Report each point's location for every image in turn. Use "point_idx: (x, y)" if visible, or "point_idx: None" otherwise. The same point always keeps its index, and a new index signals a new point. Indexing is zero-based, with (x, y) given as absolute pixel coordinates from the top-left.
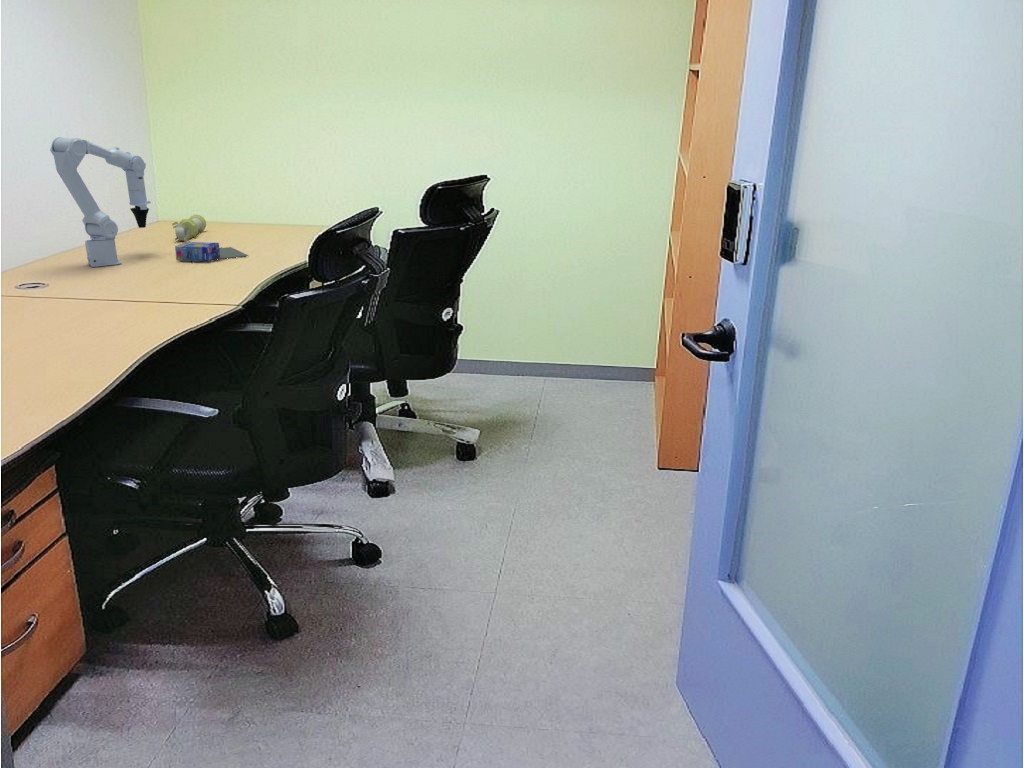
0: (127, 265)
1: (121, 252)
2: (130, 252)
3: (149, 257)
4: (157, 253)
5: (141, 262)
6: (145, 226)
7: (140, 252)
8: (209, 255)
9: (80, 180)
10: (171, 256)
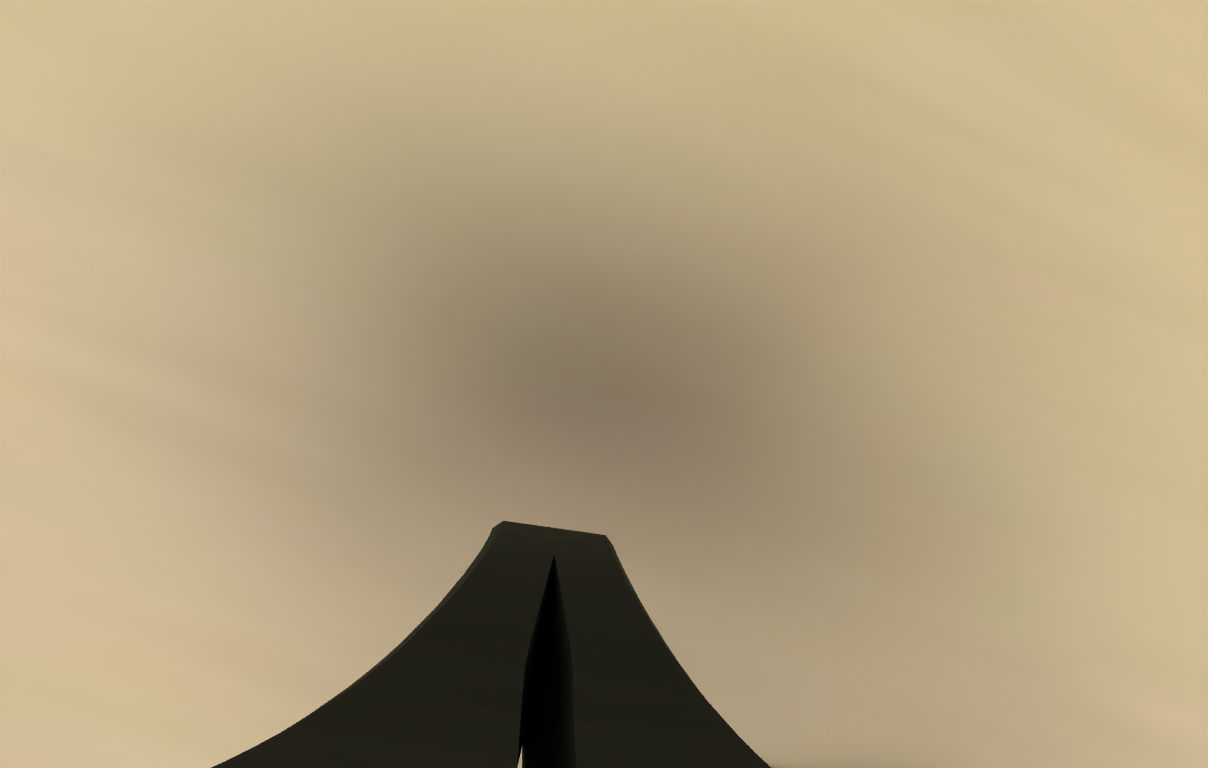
0: (1080, 764)
1: (14, 497)
2: (96, 396)
3: (758, 342)
4: (490, 85)
5: (1043, 574)
6: (610, 547)
7: (195, 275)
8: None
9: None
10: (969, 12)
